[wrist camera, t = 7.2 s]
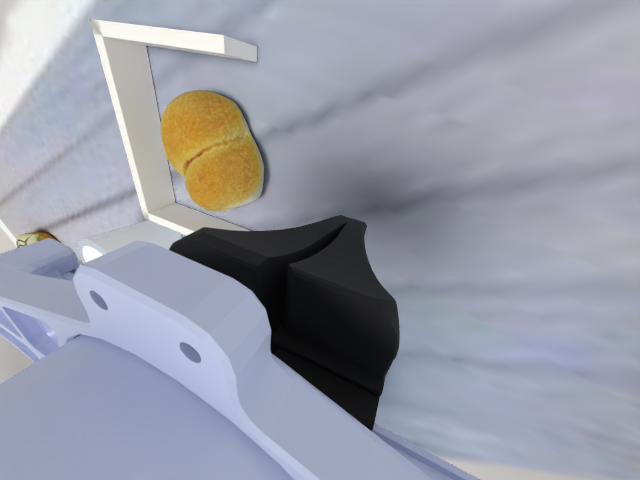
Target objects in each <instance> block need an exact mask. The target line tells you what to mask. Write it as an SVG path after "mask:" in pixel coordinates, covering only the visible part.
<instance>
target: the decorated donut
mask: <svg viewBox="0 0 640 480" xmlns="http://www.w3.org/2000/svg"><path fill="white" fill-rule="evenodd" d="M47 238H51V239H54V240H56V241H58V240H57V239H55V238H54V237H52V236H51V235H49V234H47V233H40V232H33V233H26V234H23V235H20V236H19V237H18V238H17V248H20V247H23V246H26V245H29V244H32V243H35V242H38V241H41V240H44V239H47ZM58 242H59V241H58ZM60 243H61V242H60Z"/></svg>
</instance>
